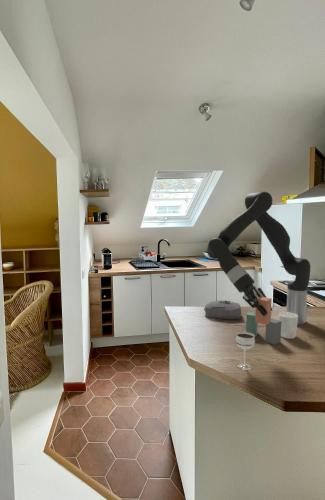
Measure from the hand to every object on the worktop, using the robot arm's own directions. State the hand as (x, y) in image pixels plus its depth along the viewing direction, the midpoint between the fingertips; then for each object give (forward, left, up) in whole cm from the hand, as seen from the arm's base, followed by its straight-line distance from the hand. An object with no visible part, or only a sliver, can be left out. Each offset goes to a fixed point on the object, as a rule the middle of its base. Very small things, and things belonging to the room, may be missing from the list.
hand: (268, 312), depth 117 cm
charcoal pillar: (-11, -8, -17) cm, 22 cm away
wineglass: (+15, +4, -17) cm, 23 cm away
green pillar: (-9, -19, -17) cm, 27 cm away
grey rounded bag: (-13, -46, -17) cm, 50 cm away
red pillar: (+1, -2, -4) cm, 5 cm away
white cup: (-22, -10, -17) cm, 30 cm away
